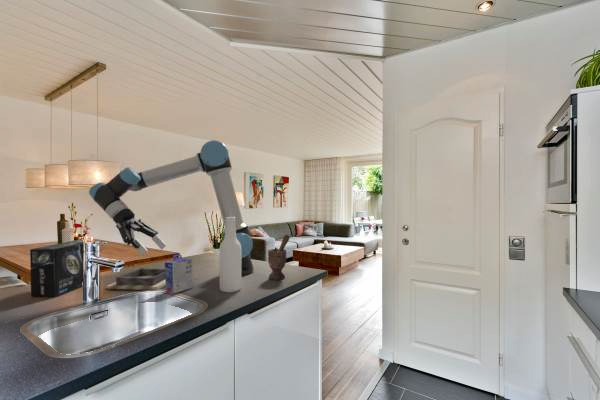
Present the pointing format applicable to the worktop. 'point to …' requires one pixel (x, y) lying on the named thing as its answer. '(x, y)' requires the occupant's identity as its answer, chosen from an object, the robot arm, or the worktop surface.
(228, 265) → the alcohol
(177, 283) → the ink cartridge box
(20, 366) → the worktop surface
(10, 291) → the worktop surface
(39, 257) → the box
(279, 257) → the mortar and pestle
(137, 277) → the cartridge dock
